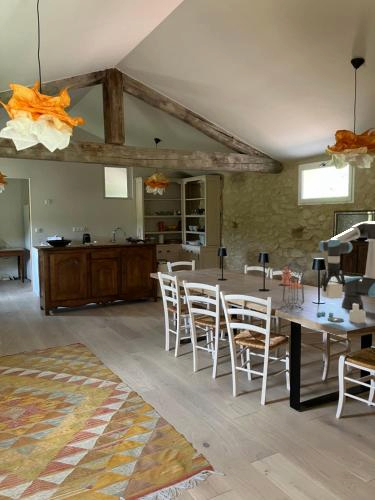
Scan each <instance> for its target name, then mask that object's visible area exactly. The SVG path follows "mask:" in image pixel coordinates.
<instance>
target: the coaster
mask: <svg viewBox="0 0 375 500" xmlns="http://www.w3.org/2000/svg"><path fill="white" fill-rule="evenodd" d="M327 321H328V322H333V323H344V321H345V320H344V318H341V317H335V316H332V317H330V316H329V317H327Z"/></svg>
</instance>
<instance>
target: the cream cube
mask: <svg viewBox="0 0 375 500" xmlns="http://www.w3.org/2000/svg"><path fill="white" fill-rule="evenodd" d="M326 287H328V293H327V297H325V296H324V291H323V286H321V297H324V298H326V299H332V300H334V299H342V298H343V291H342V287H343V288H344V286H343V284H339V283H338V282H334V281H333V282H332V281H331V282H328V284H327V286H326Z"/></svg>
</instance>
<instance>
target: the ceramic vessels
mask: <svg viewBox="0 0 375 500" xmlns="http://www.w3.org/2000/svg"><path fill="white" fill-rule="evenodd" d="M287 267H288V266H286V267H284V268H287ZM282 270H283V269H282ZM282 270H281V278H282V279H281V281H280V282H281V283H280V284H281V285H283V286H286V287H287V289H289V279H288V280H286V283H285V282H284V273H283V272H285V273H287V272H286V271H285V270H286V269H285V270H283V271H282ZM287 270H288V269H287ZM289 272H291V271H289ZM289 272H288V274H285V278H288V277H289V278H290V279H292V278H293V277H292V276H293V275H292V272H291V273H289ZM286 275H288V276H287V277H286ZM294 280H295V281H294V282H292V288H291V281H290V290H294V284H295V290H297V279H294ZM304 288H305V287H304V286H303V285H300V284H299V283H298V290H302V289H303V290H304Z"/></svg>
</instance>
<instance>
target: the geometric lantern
mask: <svg viewBox="0 0 375 500" xmlns="http://www.w3.org/2000/svg"><path fill="white" fill-rule="evenodd" d="M285 267H287V268H285ZM285 269H286V270H285ZM287 269H288V270H287ZM283 270H285V271H286V272H287V273H285V272H283V273H284V282H285V283H286V280H288V279H289V285H288V286H289V288H288V292H290V291H291V289H290V281H291V288H292V284H293V281H294V282H295V280H297V289H295V284H294V289H293V291H294V292H293V297H291V298H290V296H288V299H285V293H286V292H285V291H286V286H283V289H282V290H283V291H282V292H283V293H282V302H283V303H284V304H286V305H285V307H287V308H290V309H293V307H299V308H301V306H302V305H303V304H305V296H304V295H305V293H304V288H303V289H301V299H302V300H300V299H299V289H298V284H299V283H298V281H299V280H300V282H301V283H300V284H301V286H303V285H304V279H303V276H302V275H303V274H304V273H305V272H306V271H308V269H307V268H306V267H304V266H303V265H301V264H299V263H298V262H296V261H292V262H289V263H288V264H286V265H284V266H282V267H280V271H281V272H282V271H283ZM289 271H291V272H289ZM294 271H295V272H294ZM297 271H298V272H299V273H298V272H297ZM288 272H289V273H290V274H291V275H292V276H293V277H291V278H289V277H288V278H285V274H288ZM283 273H282V274H283ZM297 275H298V276H297ZM287 276H288V275H286V277H287ZM295 276H297V277H295ZM299 277H300V278H299ZM295 293H296V295H295ZM296 296H297V297H296ZM295 297H296V298H295ZM290 301H291V302H290ZM294 301H296V302H294ZM298 302H300V303H298Z"/></svg>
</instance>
